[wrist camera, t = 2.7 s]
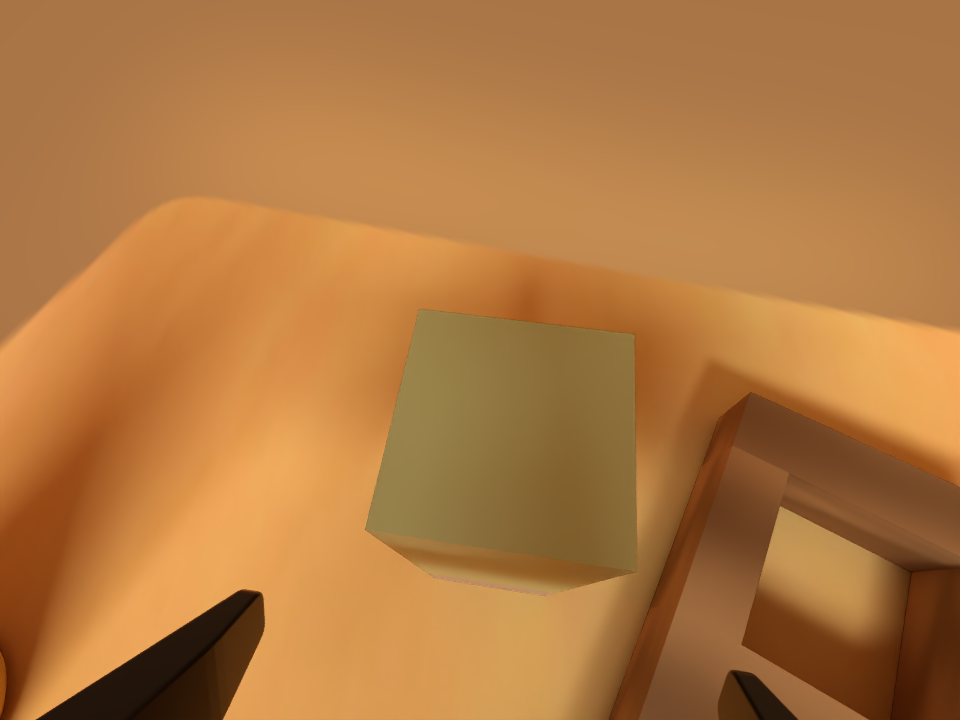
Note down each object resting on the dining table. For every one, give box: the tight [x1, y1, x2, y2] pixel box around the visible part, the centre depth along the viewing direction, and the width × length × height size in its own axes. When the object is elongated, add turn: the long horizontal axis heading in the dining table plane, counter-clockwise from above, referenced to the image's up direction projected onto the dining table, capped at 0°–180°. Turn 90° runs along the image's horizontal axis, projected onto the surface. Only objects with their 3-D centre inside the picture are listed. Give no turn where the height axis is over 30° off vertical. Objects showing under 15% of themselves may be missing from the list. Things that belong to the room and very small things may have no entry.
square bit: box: [365, 309, 637, 596], centre depth 15 cm, size 4×4×13 cm
